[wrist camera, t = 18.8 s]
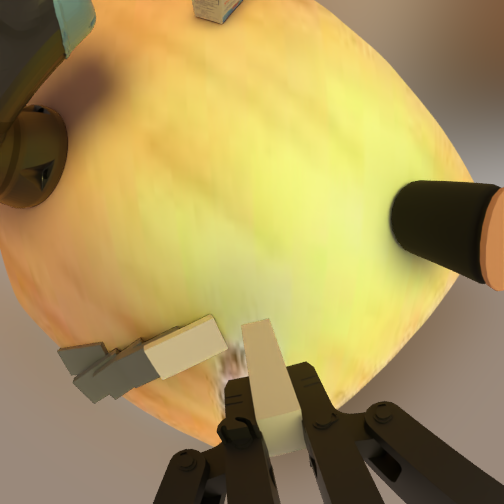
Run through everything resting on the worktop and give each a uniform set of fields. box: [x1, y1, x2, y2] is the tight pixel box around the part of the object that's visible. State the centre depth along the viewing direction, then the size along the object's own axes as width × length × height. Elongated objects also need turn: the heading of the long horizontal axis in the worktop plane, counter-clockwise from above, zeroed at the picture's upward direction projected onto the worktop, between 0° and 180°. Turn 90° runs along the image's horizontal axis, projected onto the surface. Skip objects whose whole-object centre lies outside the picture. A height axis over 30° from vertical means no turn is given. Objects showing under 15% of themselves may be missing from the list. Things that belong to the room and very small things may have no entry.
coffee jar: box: [392, 180, 504, 291], centre depth 26 cm, size 11×11×18 cm
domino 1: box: [57, 342, 108, 375], centre depth 35 cm, size 2×5×10 cm
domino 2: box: [73, 349, 120, 404], centre depth 34 cm, size 2×5×10 cm
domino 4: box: [116, 326, 179, 388], centre depth 33 cm, size 2×5×10 cm
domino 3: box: [92, 338, 144, 400], centre depth 33 cm, size 2×5×10 cm
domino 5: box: [144, 314, 228, 380], centre depth 33 cm, size 2×5×10 cm
